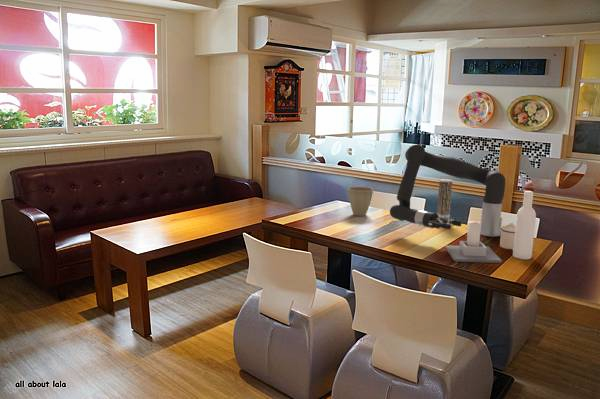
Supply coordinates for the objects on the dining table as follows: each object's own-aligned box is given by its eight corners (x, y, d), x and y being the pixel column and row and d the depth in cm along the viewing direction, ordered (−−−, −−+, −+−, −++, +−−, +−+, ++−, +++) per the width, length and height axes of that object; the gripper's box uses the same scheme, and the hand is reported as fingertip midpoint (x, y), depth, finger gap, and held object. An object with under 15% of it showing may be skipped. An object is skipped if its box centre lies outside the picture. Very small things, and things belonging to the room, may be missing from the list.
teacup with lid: (516, 251, 233) (519, 226, 231) (496, 247, 238) (499, 223, 236) (523, 245, 243) (525, 221, 240) (503, 241, 248) (505, 218, 245)
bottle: (526, 253, 229) (533, 189, 223) (534, 259, 221) (542, 193, 215) (509, 253, 229) (515, 189, 222) (517, 259, 221) (524, 193, 215)
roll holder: (488, 249, 236) (489, 238, 234) (501, 263, 216) (502, 251, 215) (445, 247, 237) (445, 237, 236) (454, 261, 218) (455, 250, 216)
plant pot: (373, 217, 293) (374, 191, 290) (348, 217, 293) (349, 191, 290) (370, 212, 308) (371, 186, 304) (346, 211, 308) (347, 186, 304)
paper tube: (449, 225, 277) (452, 181, 272) (436, 224, 279) (439, 180, 274) (448, 222, 284) (451, 179, 279) (436, 221, 285) (439, 178, 280)
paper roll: (476, 250, 229) (479, 220, 226) (479, 254, 224) (482, 223, 221) (464, 250, 229) (467, 220, 226) (467, 254, 224) (470, 223, 221)
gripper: (418, 213, 238) (447, 220, 226) (435, 209, 247) (464, 215, 235) (417, 228, 239) (446, 236, 227) (434, 224, 248) (463, 230, 236)
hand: (455, 225), depth 231 cm, fingers open, 8 cm apart
